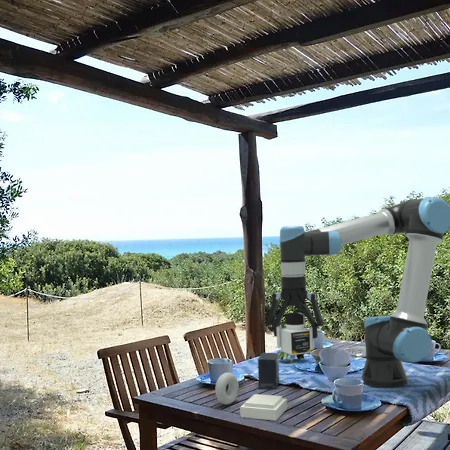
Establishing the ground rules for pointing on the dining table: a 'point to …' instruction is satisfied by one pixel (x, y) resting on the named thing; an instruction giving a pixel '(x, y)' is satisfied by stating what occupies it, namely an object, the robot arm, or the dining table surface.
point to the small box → (268, 370)
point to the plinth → (264, 407)
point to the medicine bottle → (295, 335)
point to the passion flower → (282, 354)
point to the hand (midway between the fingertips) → (295, 347)
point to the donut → (232, 390)
